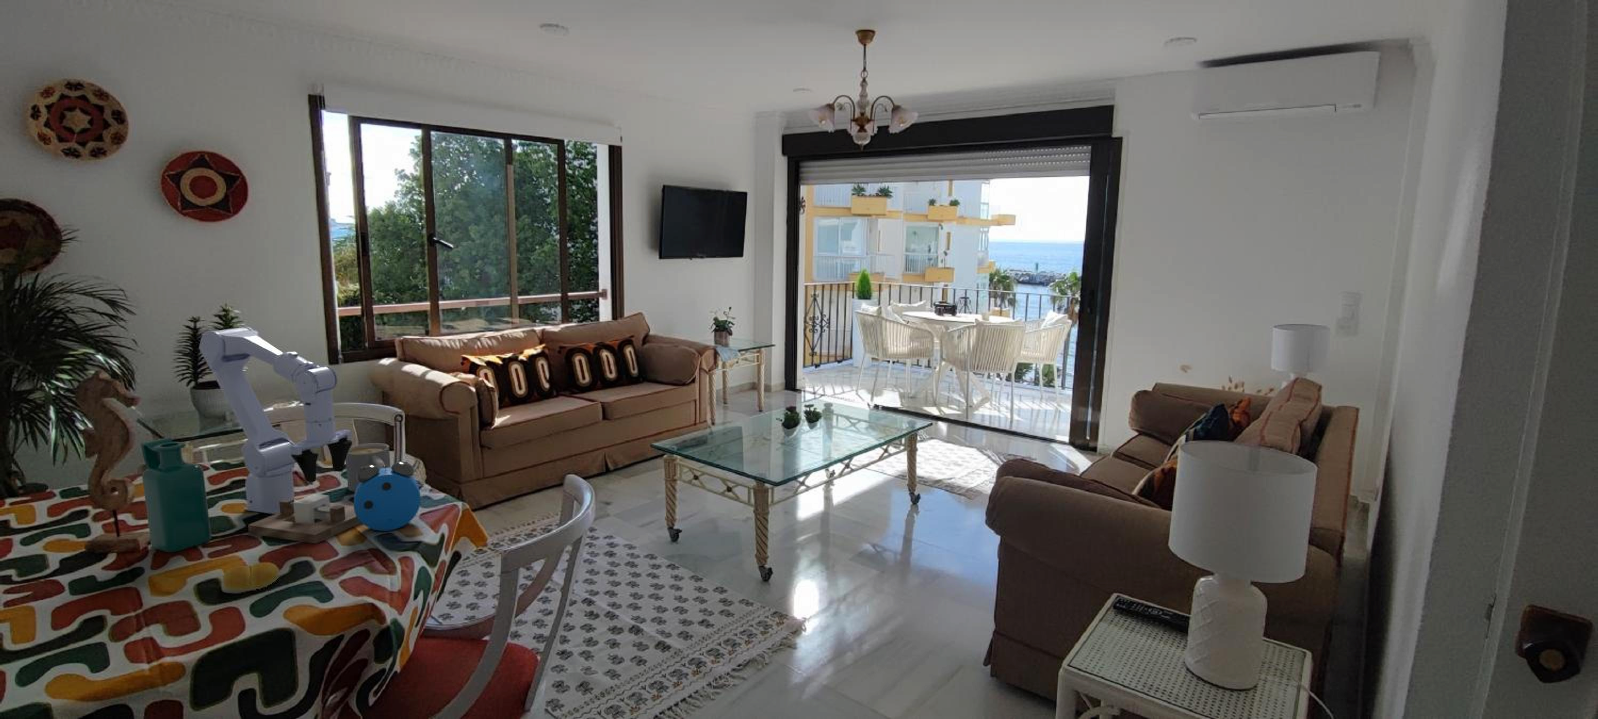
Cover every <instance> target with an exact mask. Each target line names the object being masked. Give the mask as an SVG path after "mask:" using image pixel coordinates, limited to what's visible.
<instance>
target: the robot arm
mask: <svg viewBox="0 0 1598 719" xmlns="http://www.w3.org/2000/svg"><path fill="white" fill-rule="evenodd" d="M198 349H199V351H200V353H201V355H202V356H203V358H204V360H205V362H206V364H207V365H208V368H209V369H210V370H211V372H212V374H213V376H214V379H215V380H216V382H217V383H218V386H219V387H220V390H221V391H222V393H223V395H224V397H225V399H226V400H227V402H228V404H229V406H230V409H231V410H232V412H233V413H234V415H235V417H236V419H237V421H238V423H239V424H240V427H241V429H242V430H243V433H244V434H245V436H246V438H247V439H246V441H245V442H244V444H243V445H242V446H241V449H240V452H241V454H242V456H243V461H244V465H245V468H246V469H247V471H248V472H249V474H248V475H247V477H246V479H245V483H244V484H245V485H244V486H245V494H246V495H245V496H246V504H247V505H246V507H244V510H245V511H250V512H258V513H264V514H271V515H275V514H277V513H280V505H279V501H282V500H285V499H294V502H295V501H298V500H299V499H295V490H294V488H295V487H294V480H293V479H294V478H293V469H295V464H296V463H297V465H298V467H299V468H300V470H301V472H302V474H303V477H304V479H305V481H306V482H308V483H309V482H310V483H315V482H316V480H317V461H318V458H319V455H320V454H319V453H316V452H315V453H314V452H313V451H312V450H315V449H318V448H321V447H325V446H327V448H328V450H329V454H330V457H331V464H332V469H333V472H336V473H337V472H339V473H341V472H344V469H345V465H346V456H347V453H348V451H349V449H350V447H353V446H352V445H353V440H350V439H352V434H351V433H352V431H351V430H349V429H342V430H338V431H336V422H335V421H336V420H335V408H334V398H333V390H334V389H335V388H336V387H337V385H338V375H337V373H336V371H335V370H334V369H333V368H331V367H330V366H329V365H328V364H327V365H317V364H315V362H312V361H309V360H308V359H305V358H304V357H302V356H300V355H299V353H298V352H296V351H287V352H282V351H281V350H280V349H278V348H276V347H275V346H273V345H272V344H270V343H269V342H267V341H266V340H264V339H263V338H261V336H260V333H259V331H257V330H254V329H253V328H251V327H250V326H245V325H244V326H241V327H237V328H227V329H222V330H221V329H220V330H208V331H205V332H204V333H203V334H202V335H201V339H200V342H199V347H198ZM252 357H254V358H256V359H258V360H260V361H262V362H265V363H266V364H269V365H271V366H272V368H273V372H274V374H276V375H279V376H280V377H282V378H283V379H286V380H287V381H289V382H291V383H293V384H294V385H295V388H296V391H298V393H299V395H300V396H299V397H300V400H301V402H303V412H304V422H305V432H306V438H305V439H303V440H300V441H299V442H298V443H295V442H294V441H292V440H291V438H290V437H289V436H288V434H287V433H286V432H284V431H281V430H280V429H279V430H278V429H275V428H274V427H273V425H272V423H271V422H270V420H269V417H268V416H267V414H266V412H265V410H264V408H263V407H262V404H261V402H260V401H259V398H258V397H257V395H256V393H255V392H254V390H253V388H252V386H251V384H250V383H249V382H250V381H249V380H248V378H247V377H246V374H245V373H244V370H243V369H244V367H245V366H246V365H247V364H248V363H249V361H250V360H251V359H252Z"/></svg>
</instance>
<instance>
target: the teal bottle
mask: <svg viewBox="0 0 1598 719" xmlns="http://www.w3.org/2000/svg"><path fill="white" fill-rule="evenodd" d="M140 446H141V447H140V448H141V451H142V457H143V461H144V464H145V466H146V470H144V471H143V473H142V476H141V478H142V485H143V486H142V487H143V492H144V500H145V508H146V515H147V516H146V517H147V524H148V530H149V538H150V545H151V547H152V548H155V549H157V550H159V551H163V552H166V553H176V552H181V551H183V550H184V551H185V550H187V549H190V548H193V547H195V546H198V545H201V544H205V543H207V542H209V541H210V540H211V539H212V533H211V524H210V516H209V515H210V514H209V508H208V499H207V490H206V481H205V474H204V470H203V467H202V466H201V465H200V464H197V463H193V462H189V461H185V460H184V459H183V454H182V453H183V452H182V449H184V448H185V447H187V444H186V442H184V441H173V439H172V437H164V438H159V439H155V440H150V441H145V442H141V444H140Z"/></svg>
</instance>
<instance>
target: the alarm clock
mask: <svg viewBox="0 0 1598 719" xmlns="http://www.w3.org/2000/svg"><path fill="white" fill-rule="evenodd" d="M383 467H385V468H382V469H380V468H379V467H378V466H376V465H367V466H365V467H362V468H361V469H360V470H359V472H358V473H357V476H356V478H357V481H358V482H359V484H358V486H357V488H356V490H355V492H354V496H353V506H354V511H355V514H356V516H357V518H358V519H359V520H360V522H361V523H360V524H362V525H364V526H365V527H367V528H368V529H371V530H375V531H380V532H381V531H382V532H388V531H395V530H397V529H400V528H402V527H404V526H406V525H407V524H409V523H410V522H411V521H412V520H413V519H414V518H415V516H416V515H417V514H418V512H419V510H420V507H421V503H422V502H421V500H422V499H421V498H422V497H421V492H420V488H419V483H418V482H417V480H416V479H415V478H414V474H415V468H414V467H413V465H412V464H410V463H409V461H402V460H401V461H400V460H399V461H396V462H394V463H393V464H392V465H390V467H391V468H386V467H388V465H387V466H383Z"/></svg>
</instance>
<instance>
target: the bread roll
mask: <svg viewBox="0 0 1598 719" xmlns="http://www.w3.org/2000/svg"><path fill="white" fill-rule="evenodd" d="M280 576H281V574H280V569H279V567H278V566H277V565H276V564H274V563H272V562H269V561H268V562H267V561H266V562H257V563H254V564H252V565H250V566H248V565H236V566H233V567H231V568H229V569H227V571H226V572H224V575H222V579H221V591H222V592H223V593H226V594H241V593H242V592H243V593H247V592H250V591H257V590H256V589H259V590H262V589H261V588H263V587H266V588H267V586H268V585H270V584H271V585H273V584H274V583H275V582H277V581H278V580H279V579H280ZM278 578H279V579H278ZM277 579H278V580H277ZM276 580H277V581H276ZM273 582H274V583H273ZM272 583H273V584H272ZM271 585H270V586H271ZM268 587H269V586H268ZM263 589H264V588H263ZM246 591H247V592H246Z"/></svg>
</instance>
